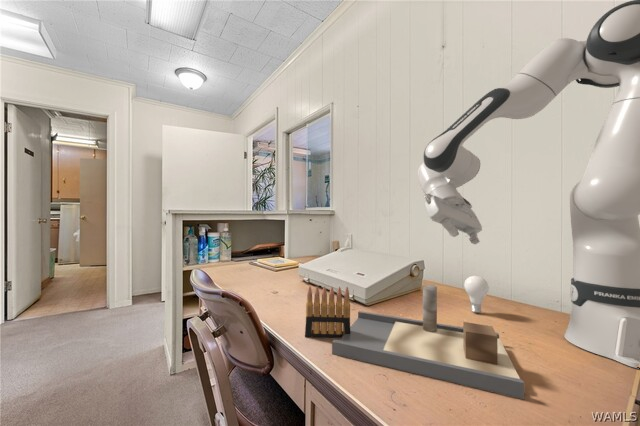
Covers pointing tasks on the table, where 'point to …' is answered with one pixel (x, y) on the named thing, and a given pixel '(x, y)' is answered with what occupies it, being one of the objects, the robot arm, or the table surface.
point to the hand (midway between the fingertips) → (465, 239)
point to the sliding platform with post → (441, 341)
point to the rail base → (372, 338)
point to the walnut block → (480, 343)
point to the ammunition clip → (327, 314)
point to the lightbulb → (476, 291)
